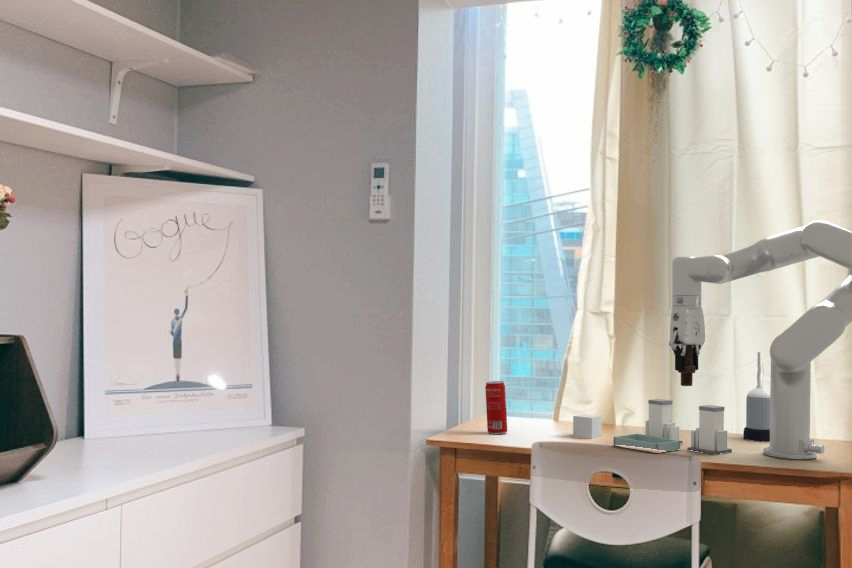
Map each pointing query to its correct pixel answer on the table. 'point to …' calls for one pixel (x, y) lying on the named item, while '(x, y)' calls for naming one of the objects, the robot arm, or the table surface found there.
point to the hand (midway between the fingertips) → (686, 369)
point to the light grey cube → (587, 426)
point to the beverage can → (496, 407)
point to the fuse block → (702, 439)
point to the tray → (647, 442)
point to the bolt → (687, 367)
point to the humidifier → (758, 412)
